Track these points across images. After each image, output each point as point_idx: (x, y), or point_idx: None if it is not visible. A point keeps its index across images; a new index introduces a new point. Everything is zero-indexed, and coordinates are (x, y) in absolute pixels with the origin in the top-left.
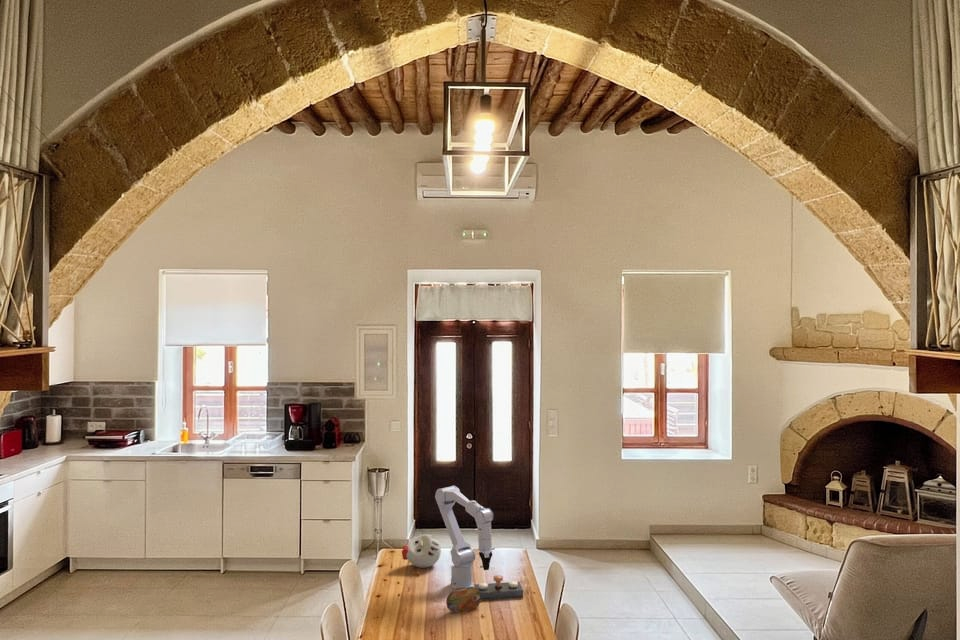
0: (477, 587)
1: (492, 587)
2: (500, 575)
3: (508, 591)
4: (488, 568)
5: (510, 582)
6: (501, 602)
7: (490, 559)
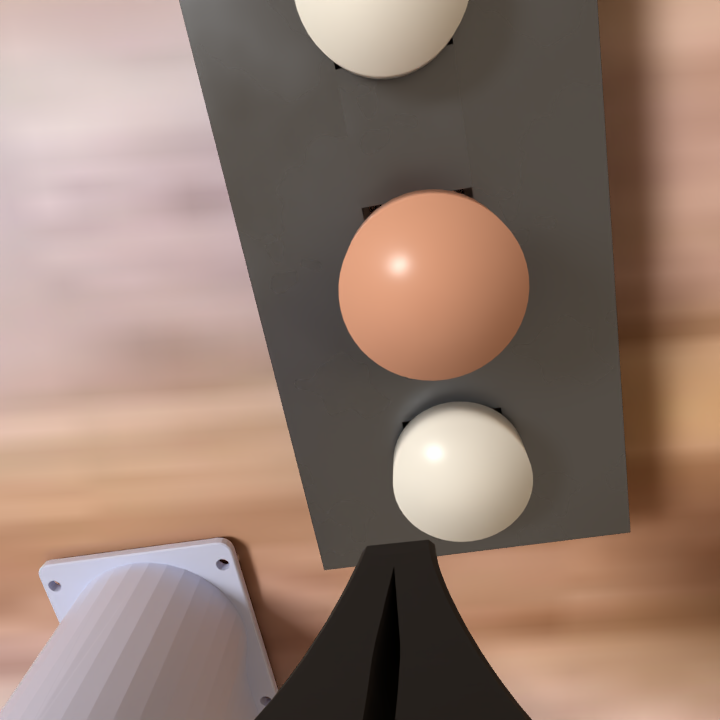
0: None
1: None
2: (358, 248)
3: (597, 70)
4: (436, 560)
5: (357, 38)
6: (706, 176)
7: (523, 714)
